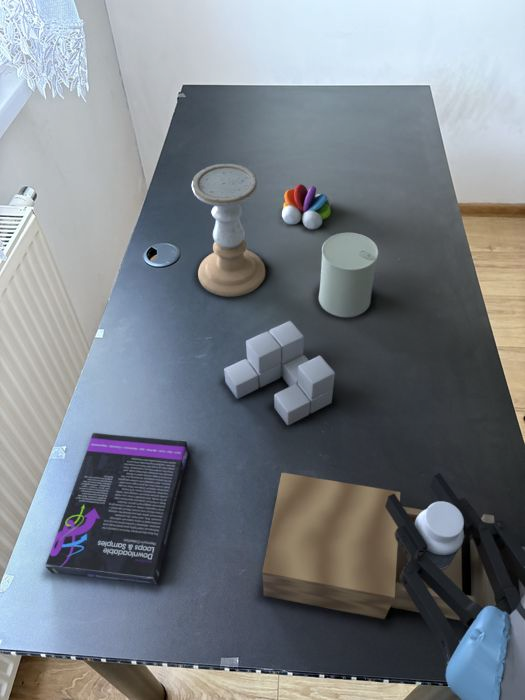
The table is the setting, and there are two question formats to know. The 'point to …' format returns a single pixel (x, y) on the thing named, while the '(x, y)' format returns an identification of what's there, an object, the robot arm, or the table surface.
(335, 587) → the cabinet
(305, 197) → the rainbow petal toy
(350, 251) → the can
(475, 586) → the drawer
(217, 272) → the candle holder
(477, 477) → the table surface
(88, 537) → the box
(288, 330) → the grey cube puzzle piece
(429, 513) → the pill bottle
